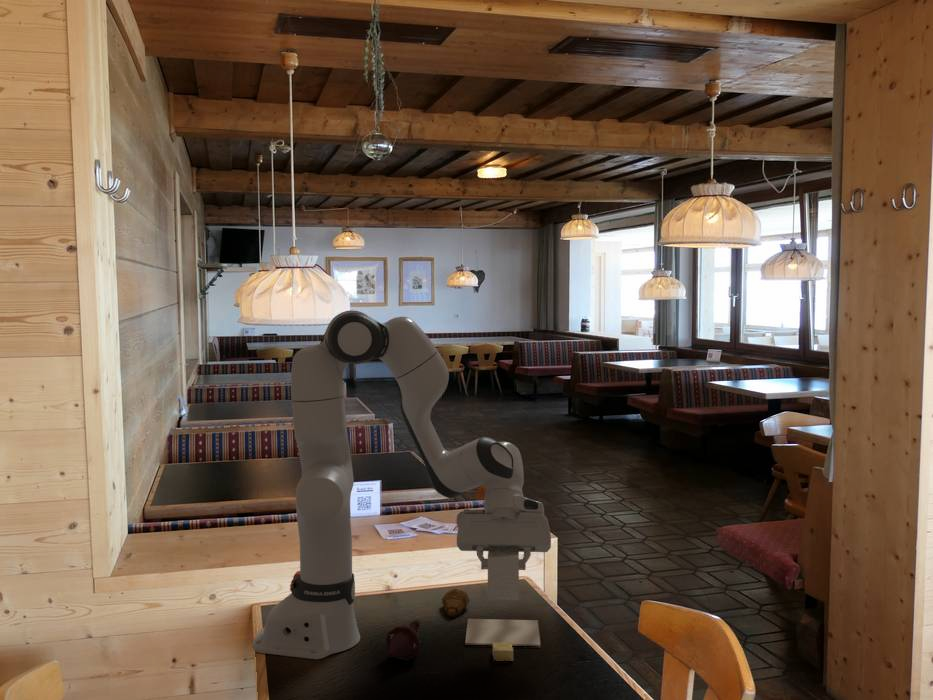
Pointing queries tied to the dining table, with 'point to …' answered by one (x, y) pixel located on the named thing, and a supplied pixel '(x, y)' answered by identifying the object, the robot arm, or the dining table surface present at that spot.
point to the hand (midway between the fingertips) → (503, 568)
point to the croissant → (455, 602)
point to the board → (502, 632)
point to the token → (502, 651)
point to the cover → (503, 573)
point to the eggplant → (404, 641)
